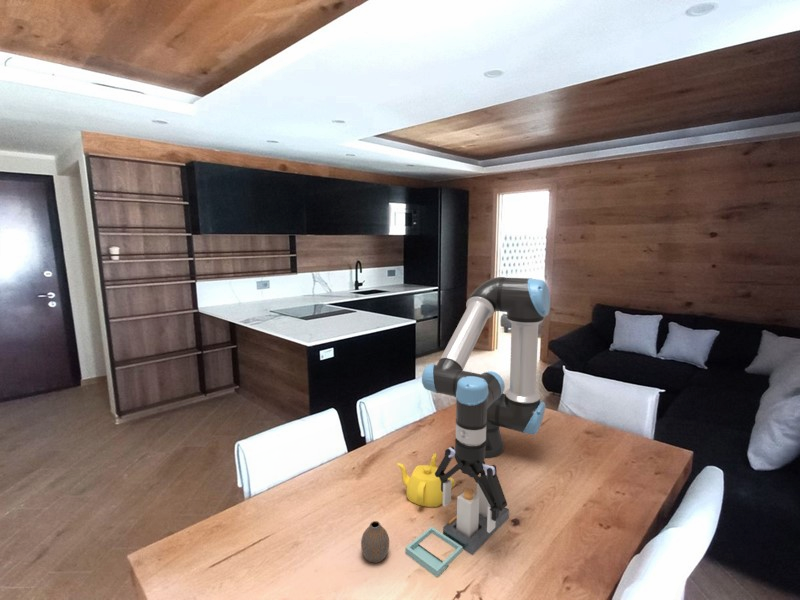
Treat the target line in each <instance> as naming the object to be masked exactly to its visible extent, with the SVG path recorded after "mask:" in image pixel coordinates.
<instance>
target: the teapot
mask: <svg viewBox="0 0 800 600" xmlns="http://www.w3.org/2000/svg"><path fill="white" fill-rule="evenodd" d="M436 459H437V453H433V454H432V456H431V460H430V463H429V464H420V465H417V466H416V467H415V468H414V469H413V471H412V473H411V475H410V476H409V475H408V473H407V468H406V466H405V465H404V464H402V463H400V462H396V465H397V466H398V467H399V468H400V471H401V479H402V480H401V481H402V484H403V485H404V486H405V488H406V491H405V492H406V497H407V499H408V501H409V502H411V503H413V504H415V505H418V506H420V507H426V508H437V507H440V506H441V505H443V492H442V491H441V481H440V478H439V477H436V476H435V472H436V471H437V469H438V467H437V463H436V462H437V460H436ZM449 479H450V480H451V489H453V487H454V486H455V479H454V478H453V477H449V478H448V480H449Z"/></svg>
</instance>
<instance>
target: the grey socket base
mask: <svg viewBox="0 0 800 600" xmlns="http://www.w3.org/2000/svg"><path fill="white" fill-rule="evenodd" d="M508 519H510V509H509V508H507V507H505V508H504V509H503V510H502V511H500V510H499V518H498V519H497V520H496V523H495V528H494V529H493V530H492V531H491V532H490V533H488V532H487V518H486V517H484V516H482V515H480V514H479V521H478V531H477V532H476V533H475V534H474V535H473V536H472V537H471V538H470V537H468V536H466V535H465V534H463V533H462V532H460V531H458V530H457V529H456V528H457V514H455V516H454V517H453V518H452V519H450V520H449V521H448V522H447V523H446V524H445V525H443V527H442V534H444V535H445V536H447V537H448V538H450V539H451V540H453V541H454V542H456V543H458V544H459V545H461V546H462V547H463V550H464V551H465V552H467V553H469V554H470V555H471V556H473V555H474V554H475V553H476V552H477V551H478V550H479V549H480V548H481V547H482V546H483V545H484V544H485V543H486V541H487V540H488V539H489V538H491V537H492V535H493V534H495V532H497V530H498V529H499V528H501V526H502V525H504V524H505V522H507V520H508Z"/></svg>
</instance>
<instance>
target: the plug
mask: <svg viewBox="0 0 800 600" xmlns="http://www.w3.org/2000/svg"><path fill="white" fill-rule="evenodd" d="M456 515H457V528H456V529H457V530H458V531H460V532H462V533H463V534H465V535H466V536H468V537H470V538H471V537H472V536H473V535H474V534H475V533H476V532H477V531H478V521H479V496H477V494H476V493H474V490H473V489H471V488H464V489H463V492H462V493H460V495H458V496H457V500H456Z"/></svg>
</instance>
